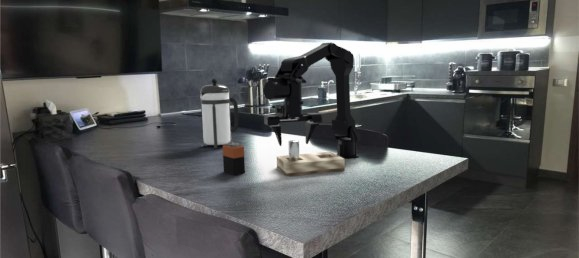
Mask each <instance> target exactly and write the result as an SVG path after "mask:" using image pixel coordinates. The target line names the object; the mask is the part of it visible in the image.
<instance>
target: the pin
mask: <svg viewBox="0 0 579 258" xmlns="http://www.w3.org/2000/svg"><path fill="white" fill-rule="evenodd" d="M299 154H300V141H299V139H298V140H297V139H295V140H294V139H292V140H288V155H289V161H297V160H299Z"/></svg>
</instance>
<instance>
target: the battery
mask: <svg viewBox="0 0 579 258" xmlns="http://www.w3.org/2000/svg"><path fill="white" fill-rule="evenodd" d="M222 160H223V161H222V163H223V172H225V173H227V174H231V175H234V176H238V175H241V174H245V172H246V168H245V167H246V166H245V147H244V146H243V145H241V144H240V143H239V142H234V143H233V142H232V141H230V142H229V143H227V144H222Z"/></svg>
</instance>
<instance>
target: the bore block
mask: <svg viewBox="0 0 579 258" xmlns="http://www.w3.org/2000/svg"><path fill="white" fill-rule="evenodd" d="M345 159H346V158H342V157H340V156H338V155H337V153H334V152H333V151H324V152H323V151H322V152H314V153H313V152H312V153H302V154H301V153H299V160H297V161H289V154H287V155H277V156H276V168H277V169H278V170H279V171H280V172H281V173H282V174H283V175H285V176H286V177H295V176H305V175H313V174H323V173H332V172H333V173H334V172H344V171H345V169H346V168H345V167H346V166H345V162H346V161H345Z"/></svg>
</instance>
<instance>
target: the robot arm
mask: <svg viewBox="0 0 579 258" xmlns="http://www.w3.org/2000/svg"><path fill="white" fill-rule="evenodd" d="M323 59H325V60H326V61H328V62H329V64H330V69H331V71H332V73H333V75H335V94H336V96H335V97H336V99H335V101H336V116H335V117H334V119H331V131H332V133H333V136H334V139H335V141H338V144H337V146H336V147H337V149H336V150H337V151H336V152H337V153H336V155H338V156H340V157H342V158H344V159H350V158H359V155H358V153H357V151H358V148H357V147H358V143H359V142H360V141H361V138H362V134H361V133H360V132H359V131H358V129H357V127H356V120H355V119H354V117H353V116H352V114H351V95H350V94H351V91H350V74H351V73H352V71H353V69H354V61H355V58H354V54H353V53H352V51H350V50H348V49H346V48H344V47H341V46H338V45H337V44H336V43H334V42H323V43H321V44H320V45H318V46H316V47H314V48H311V50H309V51H307V52H305V53H303V54H301V55H298V56H293V57H288V58H284V59H283V60H281V62H280V64H281V65H280V67H279V68H278V70H277V72H276V74H275V76H274V77H267V81H266V82H265V84H264V86H263V96H264V98H265V99H267V100H269V101H270V100H281V99H284V100H283V105H282V104H281V103H280V104H279V103H278V104H275V106H274V113H275V114H265V115H264V116H263V124H264V125H266V126H268V127H269V128H271V129H272V131H273V132H274V133H275V137H276V140H277V143H278V146H280V147H282V145H283V144H282V142H283V140H282V126H281V125H280V123H294V122H296V123H297V122H305V123H304V124H305V144H306V145H308V144H309V142H310V140H311V137H312V135H313V133H314V131H315V129H316V128H317V126H320V124H321V123H323V121H324V117H323V115H322V114H321V113H319V112H306V114H305V115H304V114H303V105H304V101H303V93H302V91H303V89H302V84H306V83H307V80H306V79H305V78H304V77H303V75H305V74H306V73H307V72H308V70H309V67H311V66H313V65H314V64H317V63H318V62H320V61H322V60H323Z"/></svg>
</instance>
